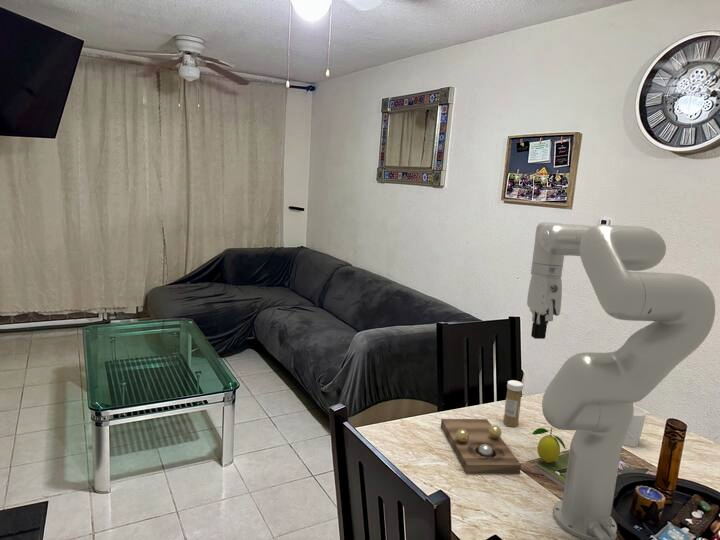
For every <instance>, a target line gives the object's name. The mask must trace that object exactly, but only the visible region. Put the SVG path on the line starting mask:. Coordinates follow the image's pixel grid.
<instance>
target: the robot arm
mask: <svg viewBox="0 0 720 540" xmlns="http://www.w3.org/2000/svg"><path fill="white" fill-rule="evenodd" d="M535 229H536V230H535V236H534V246H533V251H532V252H533V254H532V261H531V270H530V275H531V276H530V280H529V286H528V293H527V300H526V305H527V307H528V308H529V312H531V314H532V316H531V320H532V321H531V322H532V324H531V326H532V327H531V334H530V336H531V337H532V338H533V339H535V340H536V339H539V340H544V339H546V335H547V327H548V325H549V323H550V322H553V321H554V316H560V313H561V309H562V297H563V296H562V293H563V284H562V280H563V279H562V277H563V275H562V274H563V268H564V261H565V256H570V257H572V256H573V257H580V260H581V263H582V266H583V268H584V270H585V272H586V275H587V276H588V279H589V281H590V283H591V286H592V289H593V290H594V293H595V295H596V297H597V299H598V302H599V304H600V306H601V307H602V309H603V310H604V312H605V313H606V314H607V315H608V316H610V317H612V318H613V319H616V320H621V321H631V322H632V321H634V322H635V321H636V322H638V321H639V322H651V323H649V324H648V325H645V326H643V327H642V328H640V329H638V330H636V331H635V332H634V333H632V334H631V335H630V336H629V337H627V339H626V340H625V342H624V344H622V345H621V346H620V347H619V348H618V349H617V350H615V351H611V352H580V353H576V354H574V355H572V356H570V357H569V358H567V359H566V361H565V362H564V363H563V364H562V365H561V366H560V367H561V368H559V369H558V371H557V373H556V374H555V376H554V377H553V379H552V380H551V381H550V383H549V384H548V386H547V387H546V389H545V391H544V393H543V397H542V403H541V407H542V415H543V416H544V419H545V421H546V422H547V423H548V424H549V425H550V426H551V427H552V428H556V429H557V430H561V431H575V432H574V434H573V436H572V439H571V440H570V441H571V442H570V446H569V452H568V459H567V464H566V465H567V466H566V472H565V474H566V475H565V480H564V487H563V494H562V499H561V500H559V501H557V502H556V503H555V504H554V506H553V508H552V509H553V510H552V514H553V518H554V520H555V521H556V522H557V524H558V525H559V526H560V527H561V528H562V529H564V530H565V531H566V532H568V533H570V534H571V535H573V536H574V537H577V538H580V539H581V540H582V539H583V540H616V539H617V537H618V535H617V529H618V527H617V522H616V521H615V519H614V518H613V517H612V516H611V515H612V508H613V503H614V496H615V490H616V483H617V479H618V473H619V468H620V467H619V465H620V461H621V454H622V449H623V446H624V445H623V442H624V439H625V436H626V433H627V431H628V429H629V426H630V424H631V421H632V418H633V412H634V407H633V405H634V403H639V402H641V401H642V400H643V399H645V398H646V397H647V396H648V395H649V394H650V393H651V392H652V391H653V390H654V389H655V388H656V387H658V385H659V384H660V383H661V382H662V381H664V380H665V378H666V377H667V376H668V375H670V372H672V371H673V370H674V369H675V368H676V367H677V366H678V365H679V364H680V363H682V362H683V361H684V360H686V359H687V357H689V356H690V355H691V354H692V353H694V352H695V351H696V350H697V349H698V348H699V347H700V346H701V345H702V344H703V343H704V341H705V340H706V339H707V337H708V336H709V334H710V332H711V331H712V327H713V326H714V321H715V316H716V300H715V296H714V294H713V291H712V289H710V287H709V285H708V284H706V283H705V282H704V281H703V280H700V279H699V278H696V277H694V276H690V275H688V274H687V275H686V274H681V273H670V272H652V271H651V272H648V271H647V272H645V271H646V270H650V269H652V268H654V267H655V266H658V264H660V263H661V261H662V260H663V259H664V257H665V256H666V252H667V246H666V245H667V244H666V242H665V240H664V239H663V237H662V236H661V235H660V234H659V233H658V232H657V231H655V230H653V229H651V228H648V227H644V226H637V225H621V224H618V225H616V224H606V223H604V224H603V223H601V224H597V225H584V224H563V223H559V222H558V223H557V222H549V221H548V222H544V221H543V222H540V223H538V224H537V226H536V228H535ZM643 271H644V272H643Z"/></svg>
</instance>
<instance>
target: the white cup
mask: <svg viewBox="0 0 720 540" xmlns="http://www.w3.org/2000/svg"><path fill="white" fill-rule="evenodd" d="M633 407H634V412H633V418H632V421H631V424H630V426H629V429H628V431H627V433H626V436H625V439H624V442H623V446H625V447H631V448H635V447H638V445H639V444H640V443H639V442H640V439H641V437H642V433H643V428H644V425H645V419H646V416H647V415H646V414H647V412H646V411H645V410H644V409H643V408H641V407H639V406H638V405H637V406H636V405H634V404H633Z"/></svg>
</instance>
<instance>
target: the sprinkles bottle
mask: <svg viewBox="0 0 720 540" xmlns="http://www.w3.org/2000/svg"><path fill="white" fill-rule="evenodd" d="M506 389H507V390H506V397H505V403H504V416H503V421H502V423H503V424H504V425H505V426H506V427H510V428H516V427H519V418H520V413H521V412H520V411H521V400H522V393H523V389H524V384H523V382H521V381H518V380H514V379H511V380H508V381H507V384H506Z"/></svg>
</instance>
